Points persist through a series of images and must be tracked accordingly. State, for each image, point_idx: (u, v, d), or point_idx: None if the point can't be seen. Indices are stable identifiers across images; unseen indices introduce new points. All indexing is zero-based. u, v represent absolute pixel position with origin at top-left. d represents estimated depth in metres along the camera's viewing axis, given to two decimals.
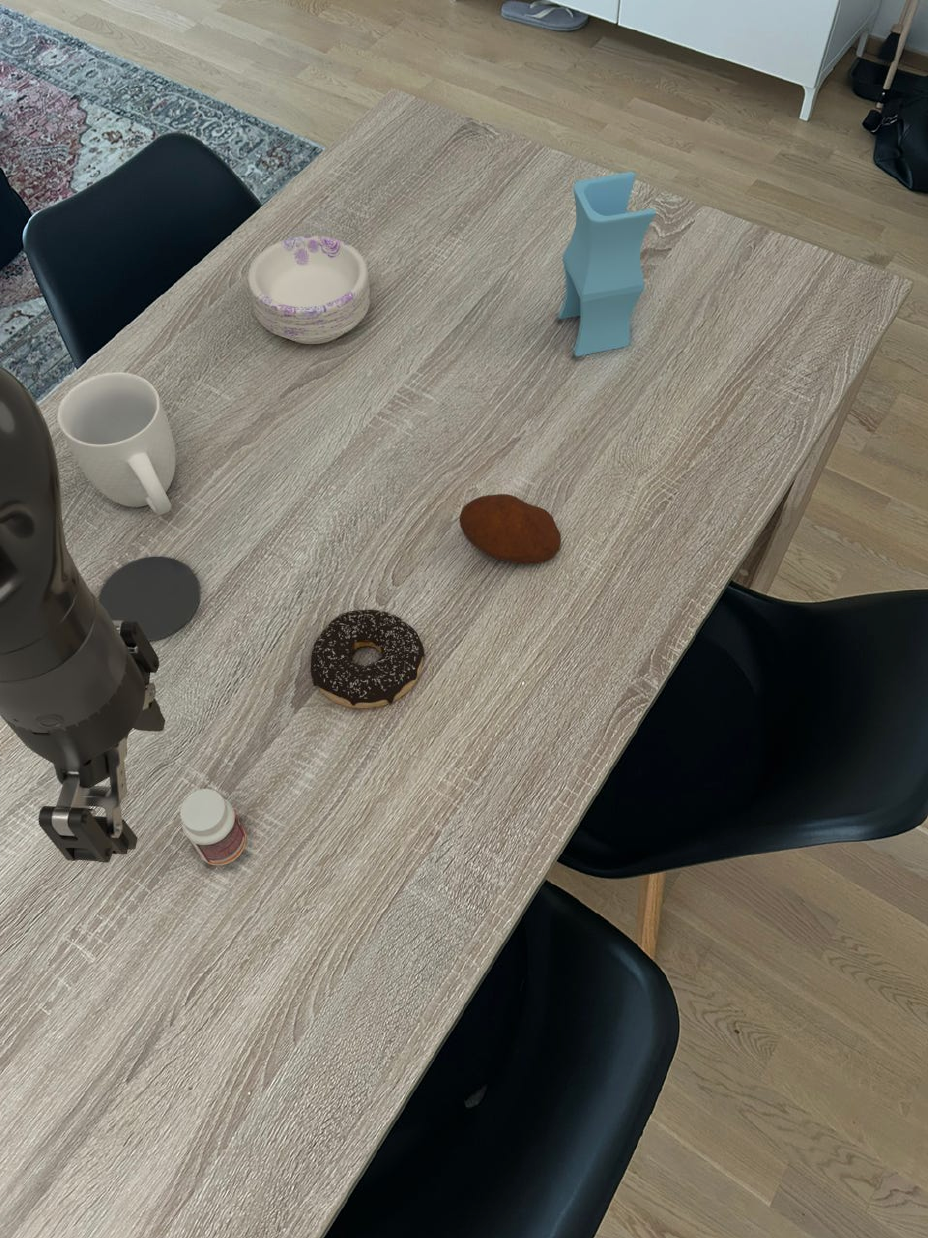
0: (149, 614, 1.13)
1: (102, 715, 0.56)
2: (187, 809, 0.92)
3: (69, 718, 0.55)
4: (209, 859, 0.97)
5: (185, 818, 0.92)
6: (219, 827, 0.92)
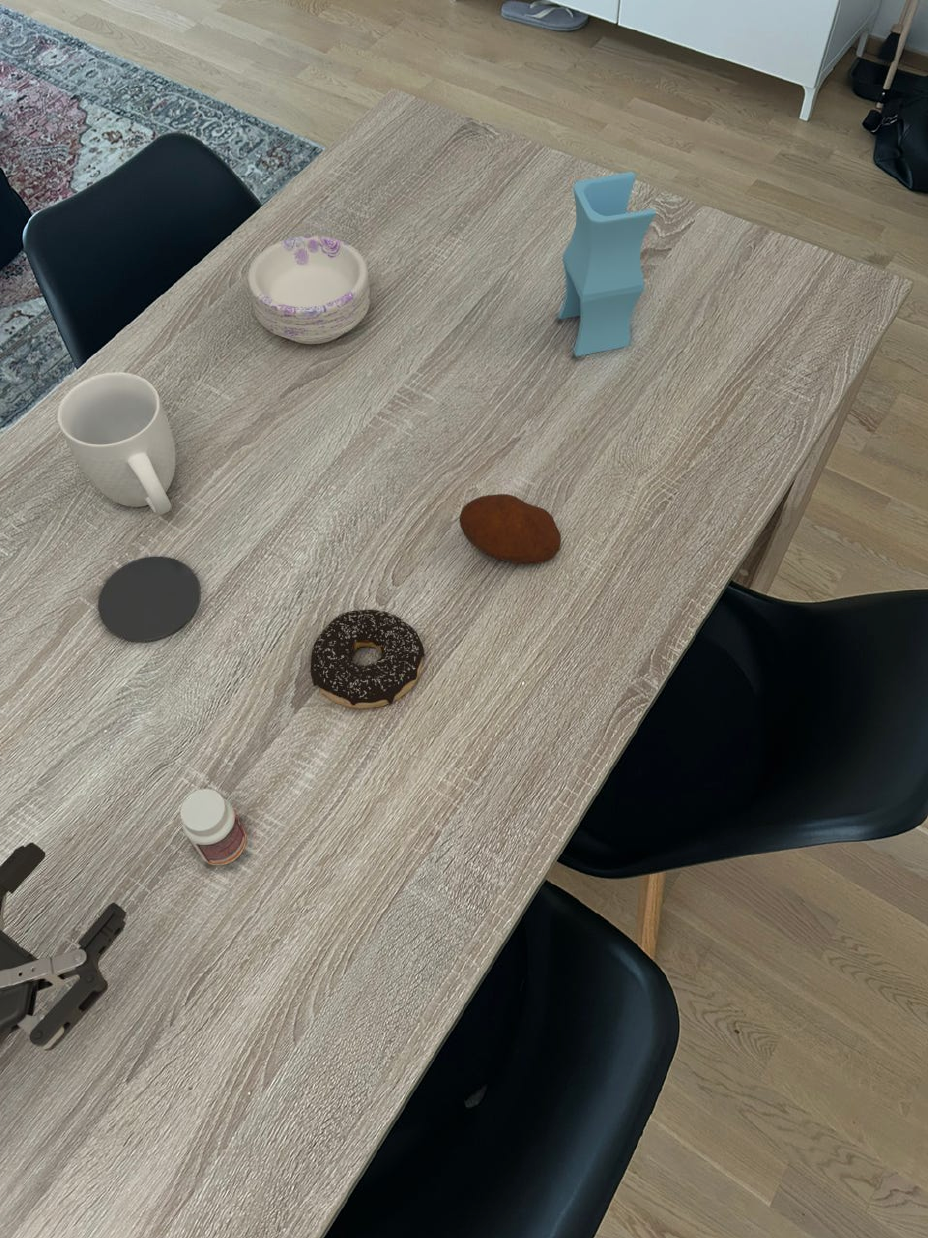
0: (149, 614, 1.13)
1: None
2: (187, 809, 0.92)
3: None
4: (209, 859, 0.97)
5: (185, 818, 0.92)
6: (219, 827, 0.92)
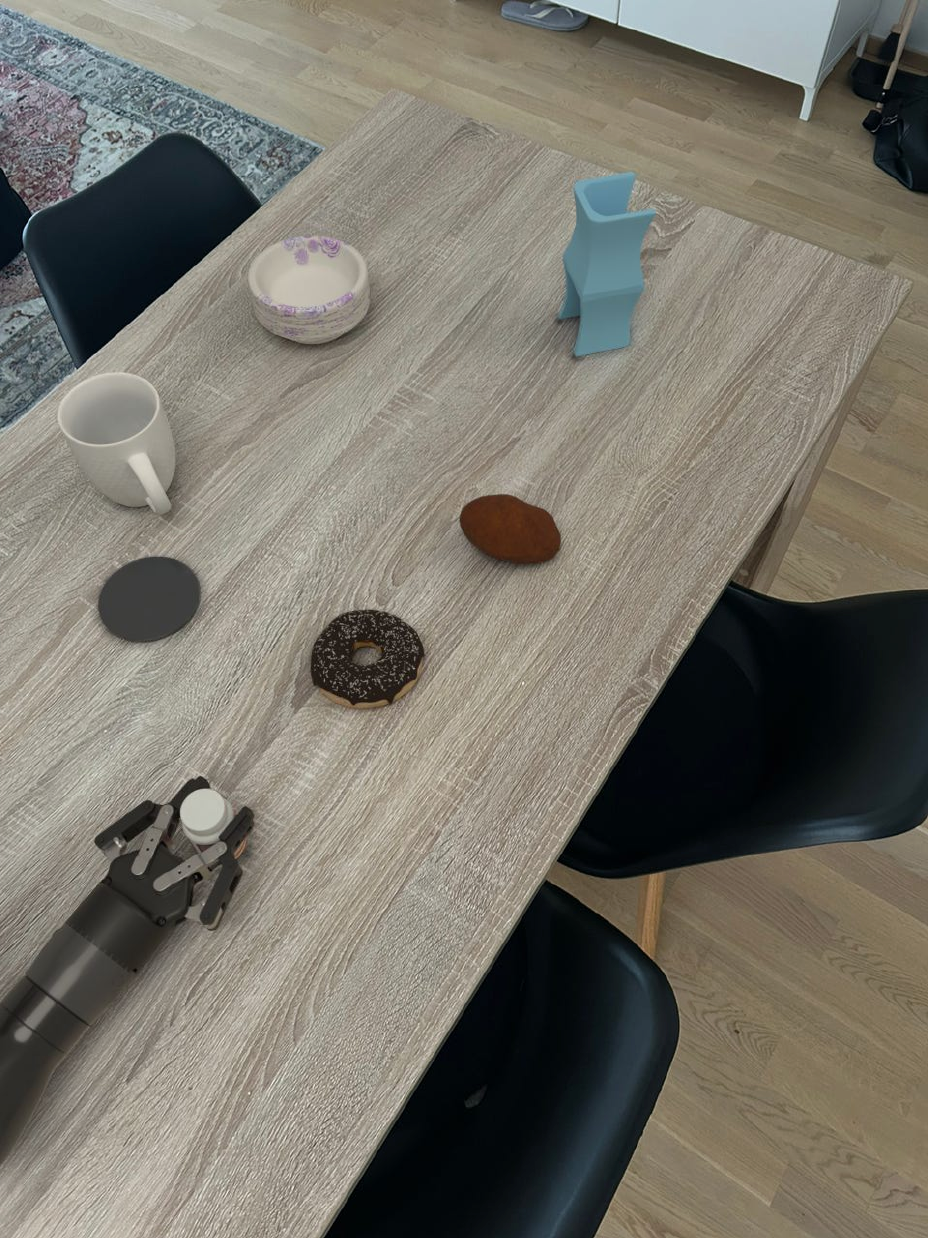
0: (149, 614, 1.13)
1: (115, 950, 0.85)
2: (187, 809, 0.92)
3: (115, 974, 0.85)
4: None
5: (185, 818, 0.92)
6: (219, 827, 0.92)
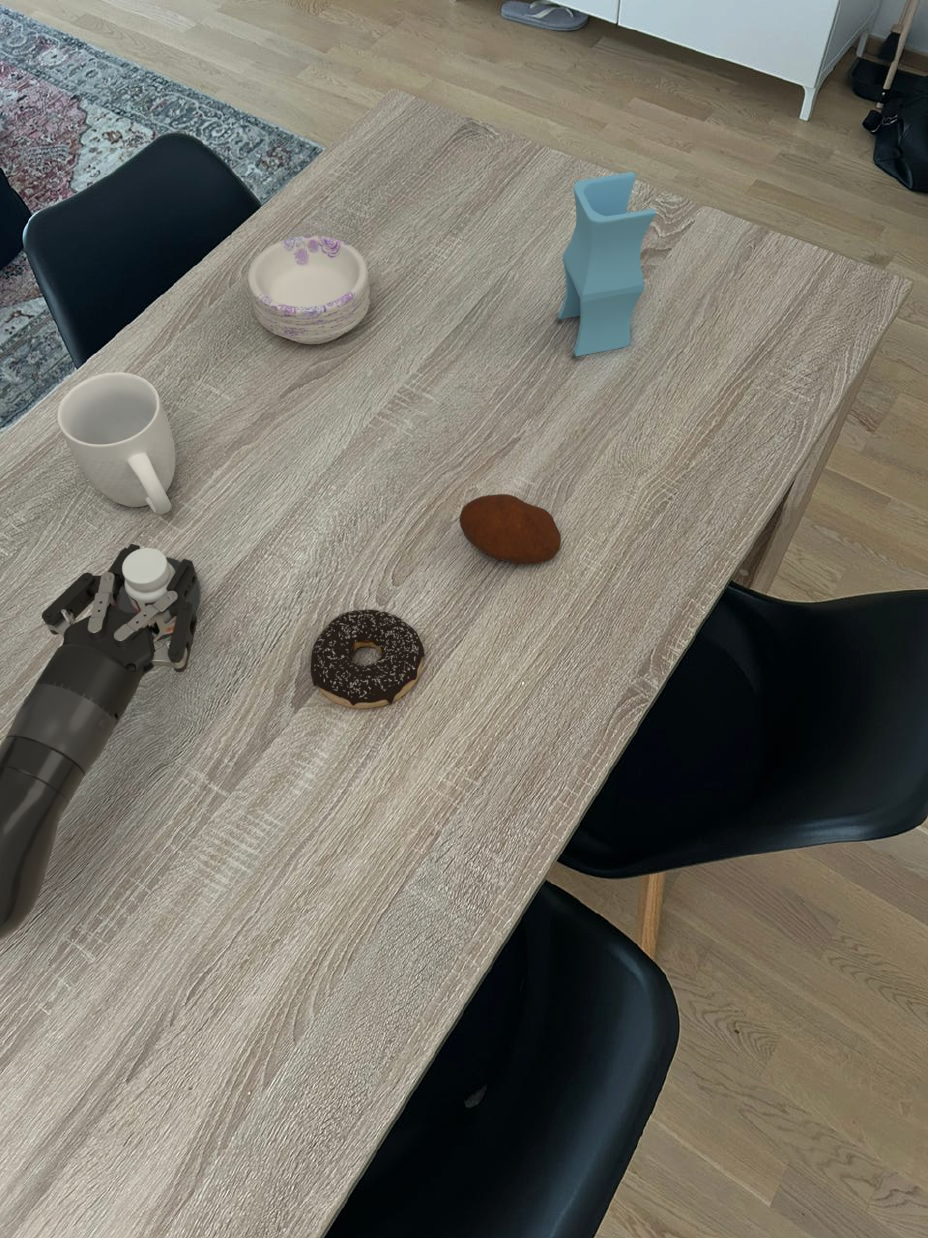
0: None
1: (93, 693, 0.86)
2: (129, 568, 0.94)
3: (99, 716, 0.86)
4: None
5: (129, 575, 0.93)
6: (165, 579, 0.94)
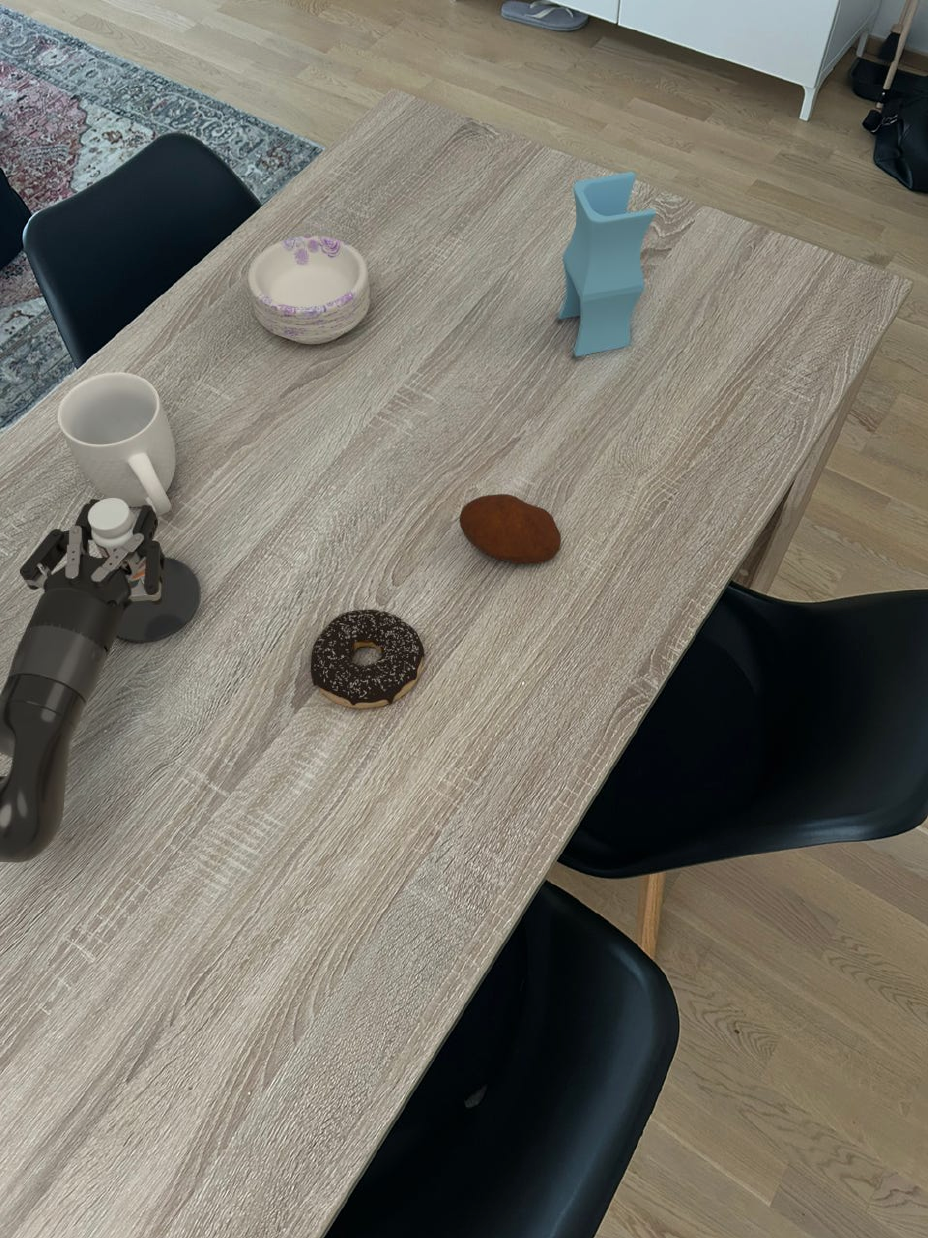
0: (149, 614, 1.13)
1: (82, 628, 0.93)
2: (94, 517, 1.01)
3: (91, 648, 0.93)
4: None
5: (96, 524, 1.00)
6: (129, 523, 1.01)
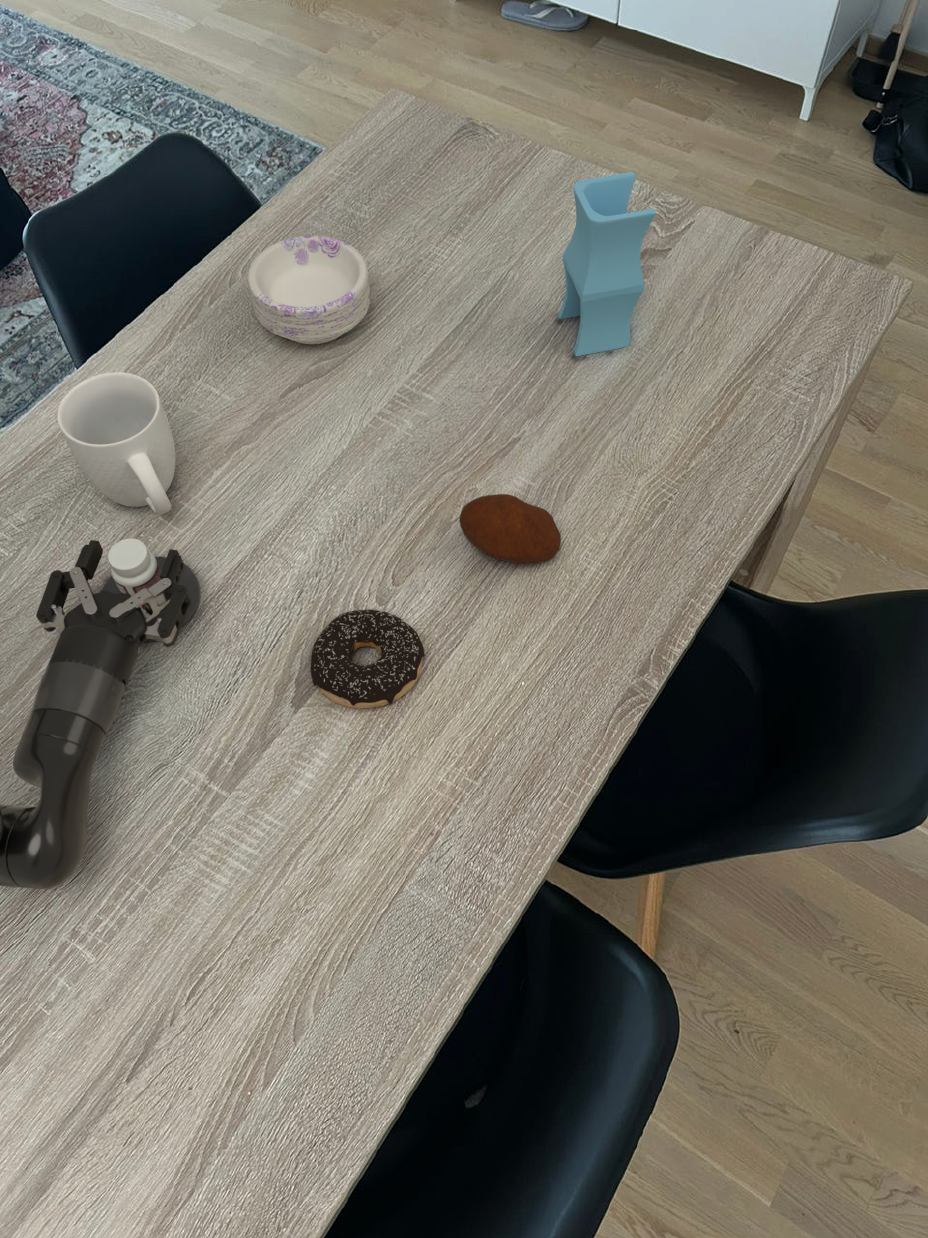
0: None
1: (102, 663, 0.98)
2: (114, 558, 1.06)
3: (110, 682, 0.99)
4: (145, 606, 1.11)
5: (116, 564, 1.06)
6: (147, 563, 1.07)
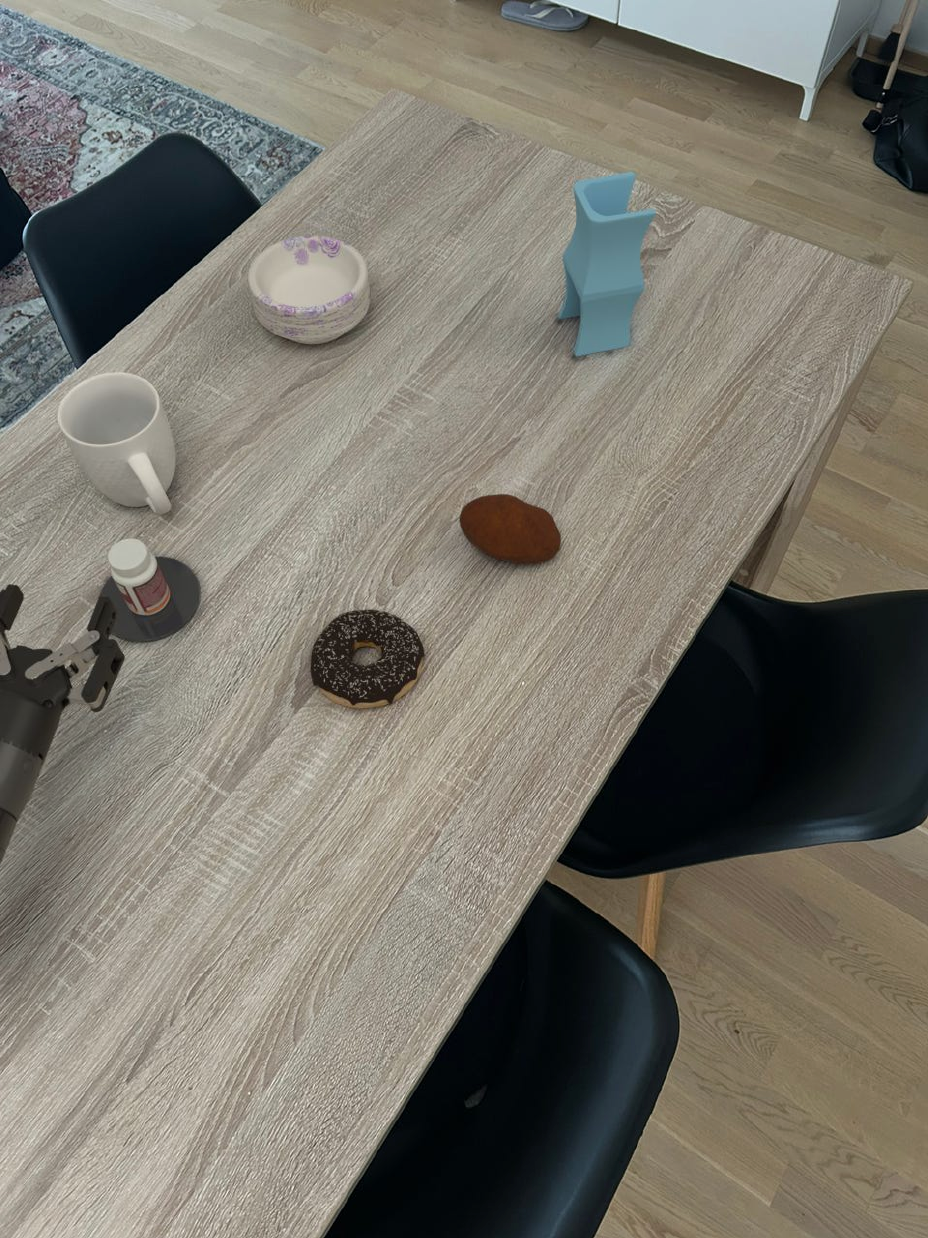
0: None
1: (12, 736, 0.83)
2: (114, 558, 1.06)
3: (22, 759, 0.83)
4: (145, 606, 1.11)
5: (116, 564, 1.06)
6: (147, 563, 1.07)
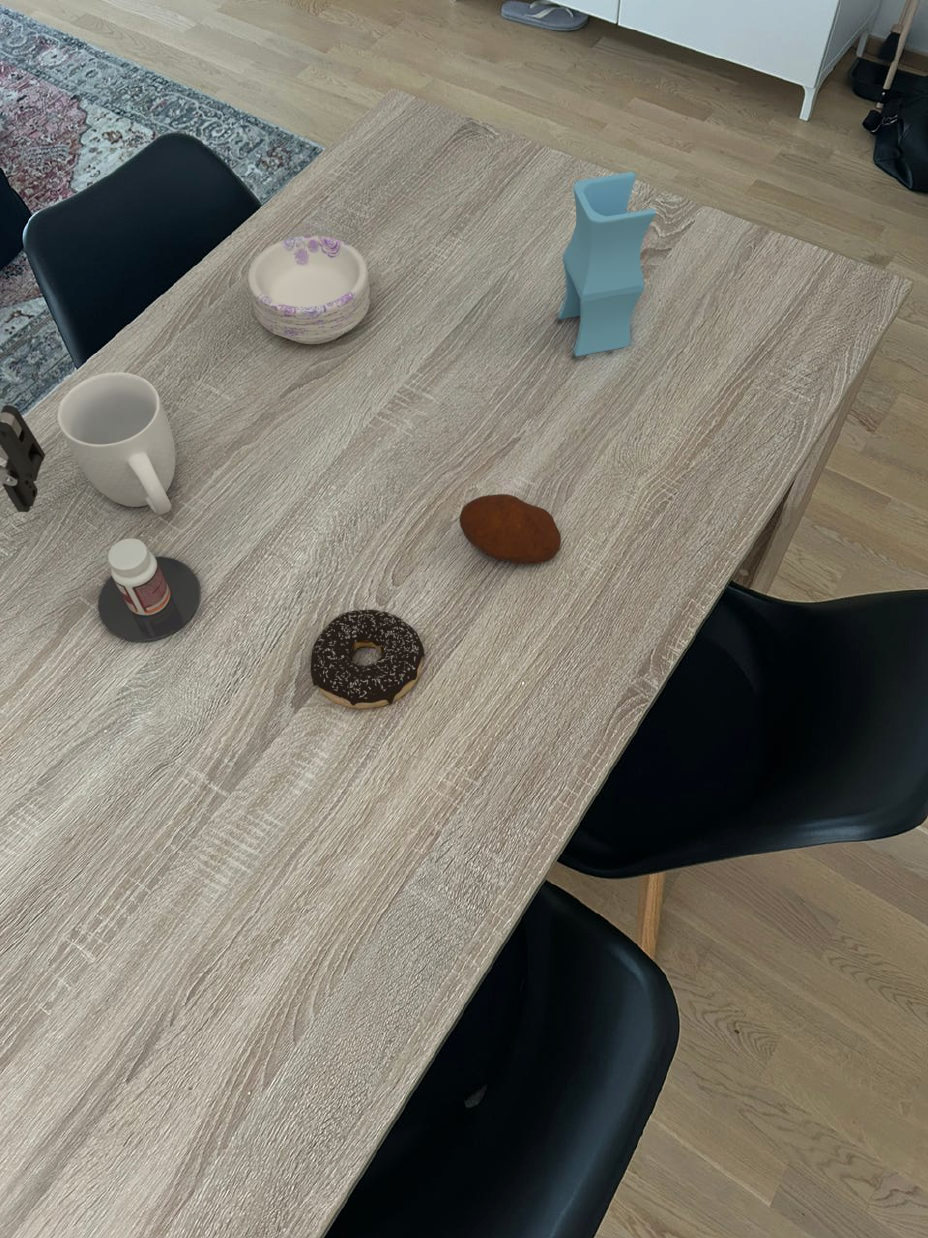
0: None
1: None
2: (114, 558, 1.06)
3: None
4: (145, 606, 1.11)
5: (116, 564, 1.06)
6: (147, 563, 1.07)
